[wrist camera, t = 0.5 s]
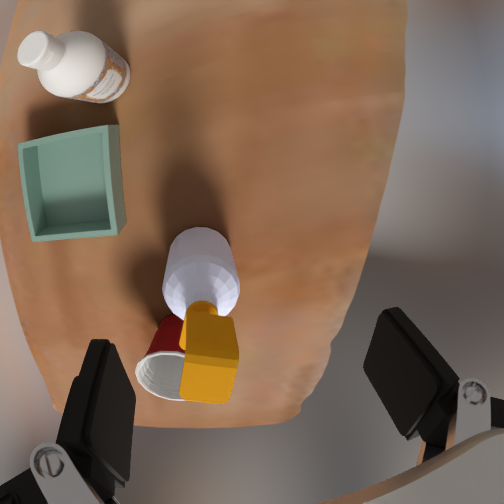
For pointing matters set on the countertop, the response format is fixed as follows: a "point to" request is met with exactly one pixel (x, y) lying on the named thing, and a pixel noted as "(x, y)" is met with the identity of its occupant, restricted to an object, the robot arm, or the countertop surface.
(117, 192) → the tub
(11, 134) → the countertop surface
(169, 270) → the soap bottle
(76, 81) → the bath foam
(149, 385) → the plastic cup
